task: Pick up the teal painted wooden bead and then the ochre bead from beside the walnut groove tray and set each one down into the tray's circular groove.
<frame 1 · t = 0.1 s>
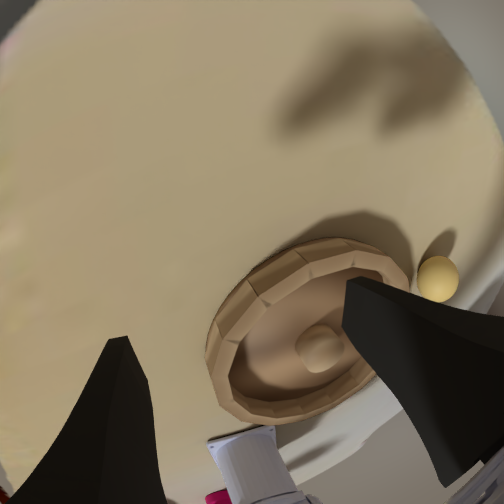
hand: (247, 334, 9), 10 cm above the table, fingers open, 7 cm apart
bead ochre: (422, 269, 27), on the table
pepper mill: (222, 494, 37), on the table
groove tray: (310, 336, 25), on the table
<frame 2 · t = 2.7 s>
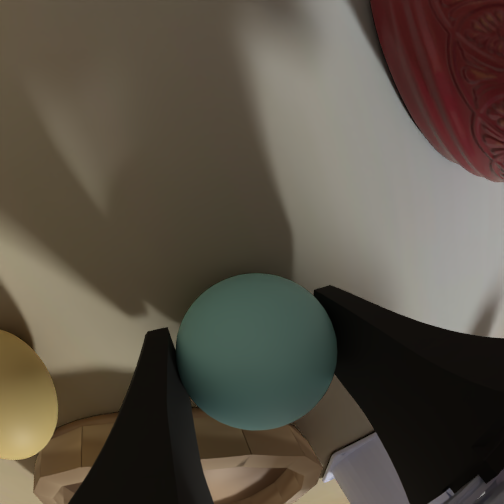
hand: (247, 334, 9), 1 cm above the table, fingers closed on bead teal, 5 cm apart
bead teal: (234, 308, 10), on the table, touching gripper
bead ochre: (14, 351, 8), on the table
canister: (455, 46, 9), on the table
groove tray: (174, 480, 15), on the table
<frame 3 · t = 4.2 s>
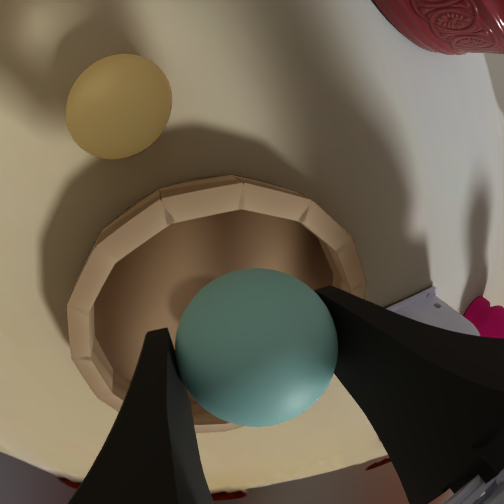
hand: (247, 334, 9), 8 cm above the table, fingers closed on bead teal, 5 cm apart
bead teal: (235, 304, 10), point 7 cm above the table, touching gripper
bead ochre: (123, 109, 12), on the table
pepper mill: (470, 313, 34), on the table
groove tray: (219, 320, 19), on the table
when the fingers open (3 cm above the table, at t = 6.0 s): bead teal drops 1 cm, resting on groove tray.
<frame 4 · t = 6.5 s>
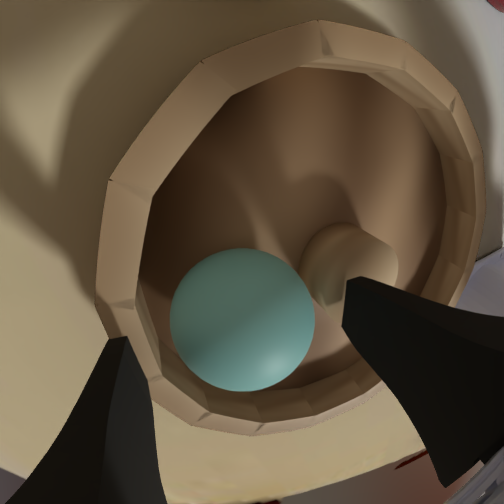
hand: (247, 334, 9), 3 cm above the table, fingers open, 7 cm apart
bead teal: (225, 285, 11), point 1 cm above the table, touching groove tray
groove tray: (328, 255, 13), on the table
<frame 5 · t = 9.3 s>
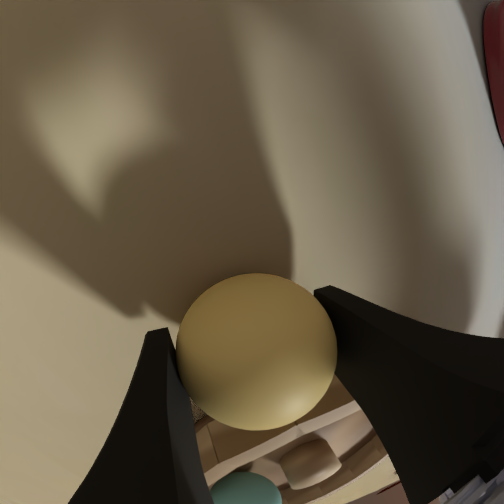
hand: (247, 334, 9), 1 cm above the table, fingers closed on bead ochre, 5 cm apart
bead teal: (234, 474, 15), point 1 cm above the table, touching groove tray
bead ochre: (234, 308, 10), on the table, touching gripper
groove tray: (300, 446, 17), on the table
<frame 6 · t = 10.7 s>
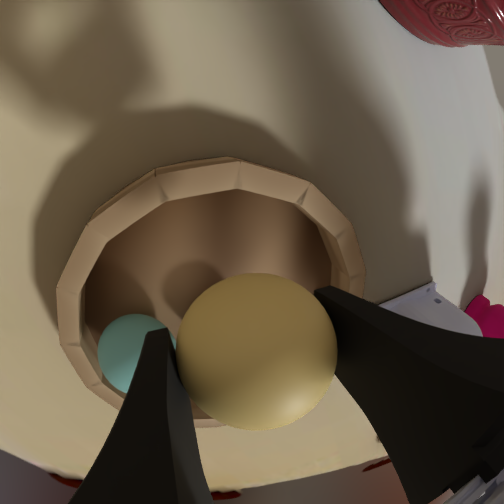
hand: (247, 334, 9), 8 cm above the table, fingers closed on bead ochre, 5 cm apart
bead teal: (138, 329, 16), point 1 cm above the table, touching groove tray
bead ochre: (234, 308, 10), point 7 cm above the table, touching gripper
pepper mill: (469, 312, 33), on the table
groove tray: (214, 309, 18), on the table
when the fingers open (3 cm above the table, at t = 12.0 s): bead ochre drops 1 cm, resting on groove tray.
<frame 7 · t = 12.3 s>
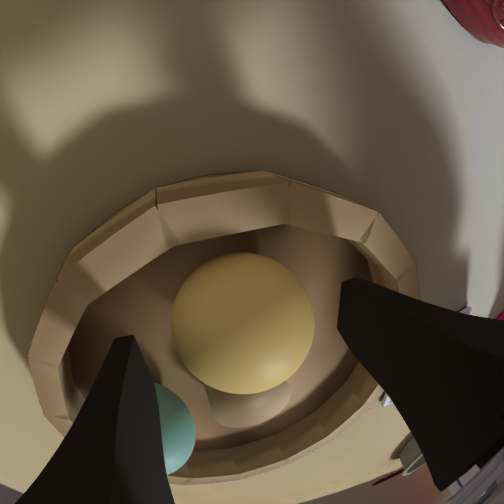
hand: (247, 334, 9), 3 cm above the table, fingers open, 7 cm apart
bead teal: (141, 391, 12), point 1 cm above the table, touching groove tray
bead ochre: (224, 288, 11), point 1 cm above the table, touching groove tray
groove tray: (235, 363, 14), on the table
cake pan: (441, 419, 40), on the table
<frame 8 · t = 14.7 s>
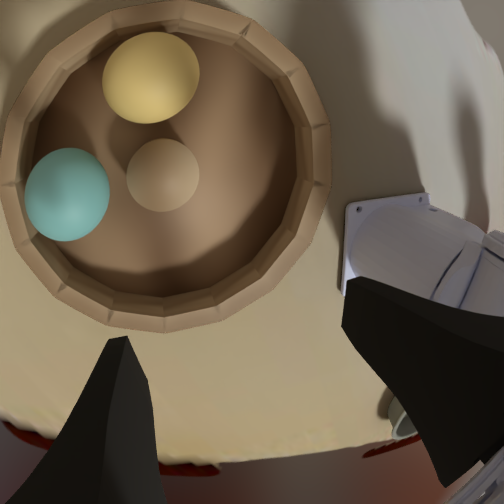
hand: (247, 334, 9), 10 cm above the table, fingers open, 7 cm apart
bead teal: (79, 185, 14), point 1 cm above the table, touching groove tray
bead ochre: (151, 84, 13), point 1 cm above the table, touching groove tray
groove tray: (162, 168, 16), on the table
cake pan: (432, 375, 41), on the table
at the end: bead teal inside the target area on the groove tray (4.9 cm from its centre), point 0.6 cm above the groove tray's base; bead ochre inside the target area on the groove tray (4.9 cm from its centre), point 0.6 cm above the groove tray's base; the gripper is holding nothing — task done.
